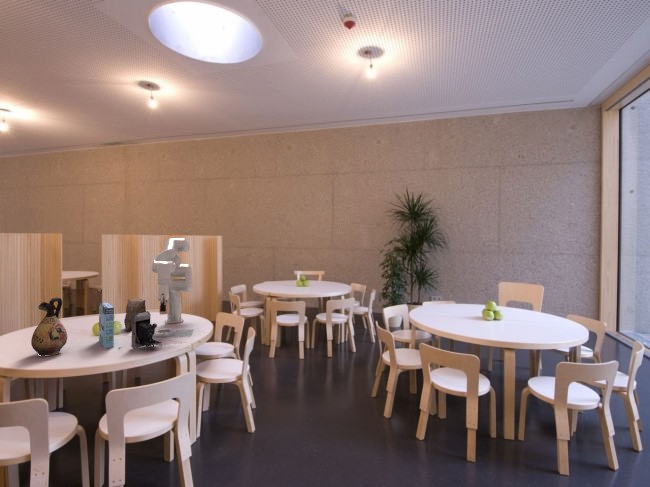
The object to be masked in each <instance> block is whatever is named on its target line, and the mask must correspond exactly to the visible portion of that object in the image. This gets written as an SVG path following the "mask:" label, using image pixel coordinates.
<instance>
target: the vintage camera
mask: <svg viewBox="0 0 650 487" xmlns="http://www.w3.org/2000/svg"><path fill="white" fill-rule="evenodd" d="M157 326H158V324H157V323H151V312H149V311H147V310H146V312H144V313H139V314H135V313H134V315H132V331H131V348H132V349H133V350H134V349H137V348H138V349H139V348H142V347H152V351H155V345H159V344H162V342H161V341H159V340H157V339H152V336H153V335H154V333H155V330H156V328H157Z"/></svg>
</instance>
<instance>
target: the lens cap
mask: <svg viewBox="0 0 650 487" xmlns="http://www.w3.org/2000/svg"><path fill="white" fill-rule="evenodd" d="M165 305H166V311H165V312H160V311H159V315H167V314H168V313H169V302H165Z"/></svg>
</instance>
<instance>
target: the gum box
mask: <svg viewBox="0 0 650 487" xmlns="http://www.w3.org/2000/svg"><path fill="white" fill-rule="evenodd" d="M98 306H99V307H98V309H99V310H98V313H99V314H98V341H99V343H100V344H101V346H102V347H103V348H104V349H111V348H114V341H115V340H114V339H115V337H114V335H115V333H114V332H115V330H114V328H115V327H114V326H115V325H114V324H115V313H114V312H115V307H114V306H113V305H111V304H110V303H109V302H100V303H98Z"/></svg>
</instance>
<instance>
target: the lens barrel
mask: <svg viewBox="0 0 650 487" xmlns="http://www.w3.org/2000/svg"><path fill="white" fill-rule="evenodd" d="M176 330H177V329H176V328H175V329H174V328H159V329H155V333H154V335H153V336H154V337H168V336H172V335H175V333H176Z"/></svg>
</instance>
